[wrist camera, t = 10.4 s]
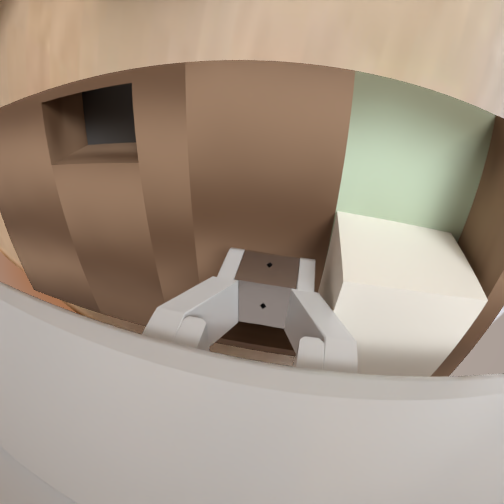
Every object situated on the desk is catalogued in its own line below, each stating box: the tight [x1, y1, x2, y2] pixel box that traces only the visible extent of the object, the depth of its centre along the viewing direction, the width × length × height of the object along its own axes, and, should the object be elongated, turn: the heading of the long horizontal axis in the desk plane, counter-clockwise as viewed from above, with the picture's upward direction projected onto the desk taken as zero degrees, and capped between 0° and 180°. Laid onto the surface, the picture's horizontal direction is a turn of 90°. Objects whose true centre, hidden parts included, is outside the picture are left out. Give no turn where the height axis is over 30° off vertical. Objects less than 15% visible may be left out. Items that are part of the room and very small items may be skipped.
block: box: [318, 211, 488, 377], centre depth 9 cm, size 4×4×4 cm
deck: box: [0, 60, 504, 377], centre depth 11 cm, size 13×25×6 cm, turn 89°
